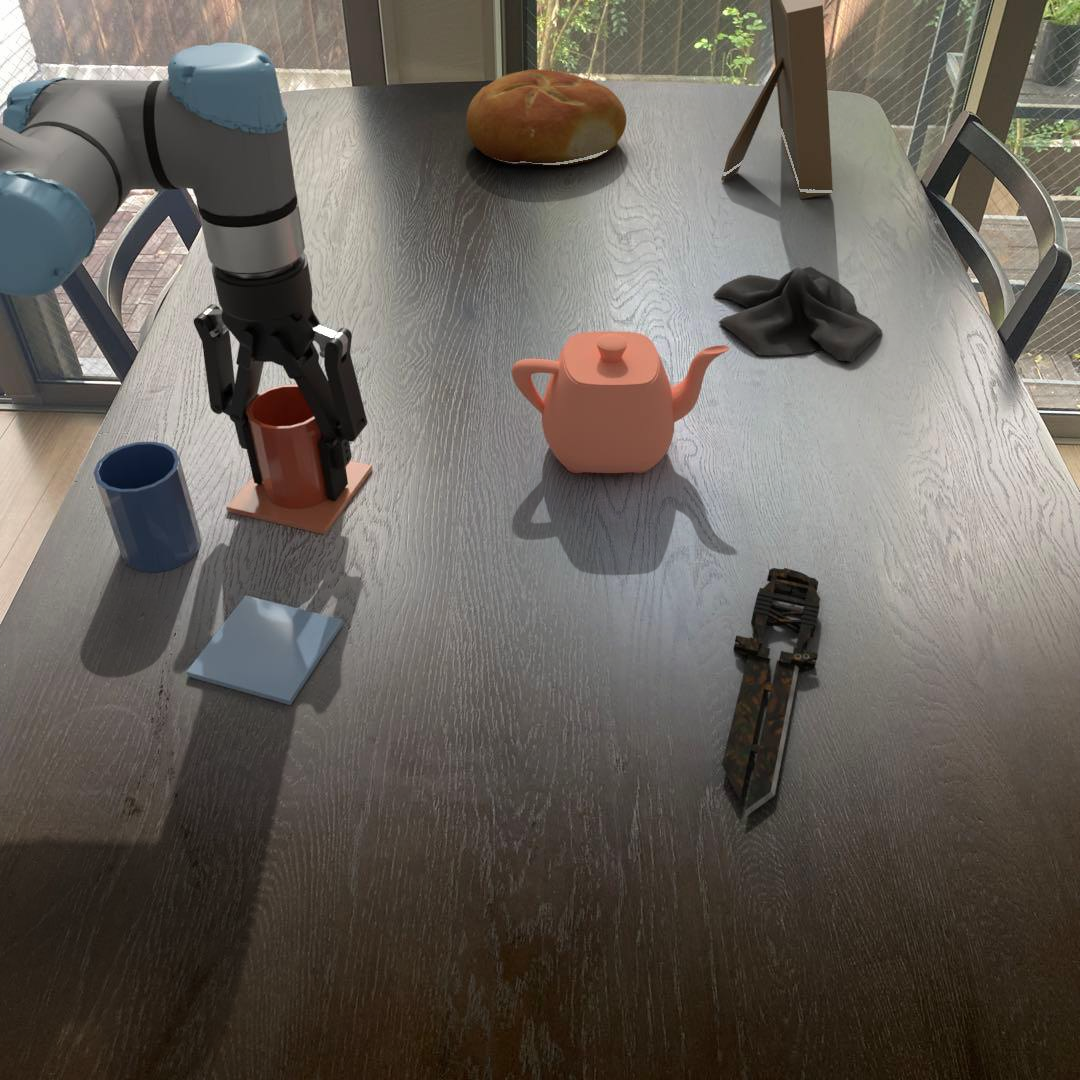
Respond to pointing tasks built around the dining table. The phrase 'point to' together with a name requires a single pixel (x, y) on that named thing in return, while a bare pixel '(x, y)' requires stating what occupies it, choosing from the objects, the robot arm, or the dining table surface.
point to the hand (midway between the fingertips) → (301, 483)
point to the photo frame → (796, 95)
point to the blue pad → (266, 649)
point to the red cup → (287, 447)
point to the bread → (544, 118)
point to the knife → (769, 685)
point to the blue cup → (148, 506)
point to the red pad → (310, 518)
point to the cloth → (797, 315)
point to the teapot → (611, 400)
